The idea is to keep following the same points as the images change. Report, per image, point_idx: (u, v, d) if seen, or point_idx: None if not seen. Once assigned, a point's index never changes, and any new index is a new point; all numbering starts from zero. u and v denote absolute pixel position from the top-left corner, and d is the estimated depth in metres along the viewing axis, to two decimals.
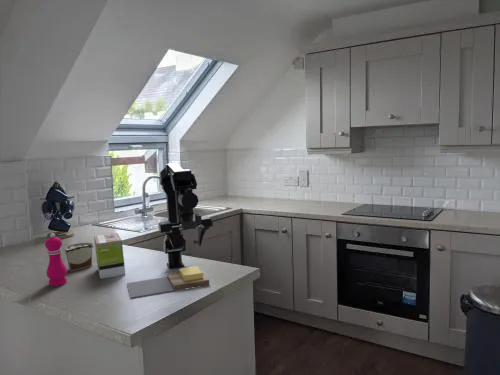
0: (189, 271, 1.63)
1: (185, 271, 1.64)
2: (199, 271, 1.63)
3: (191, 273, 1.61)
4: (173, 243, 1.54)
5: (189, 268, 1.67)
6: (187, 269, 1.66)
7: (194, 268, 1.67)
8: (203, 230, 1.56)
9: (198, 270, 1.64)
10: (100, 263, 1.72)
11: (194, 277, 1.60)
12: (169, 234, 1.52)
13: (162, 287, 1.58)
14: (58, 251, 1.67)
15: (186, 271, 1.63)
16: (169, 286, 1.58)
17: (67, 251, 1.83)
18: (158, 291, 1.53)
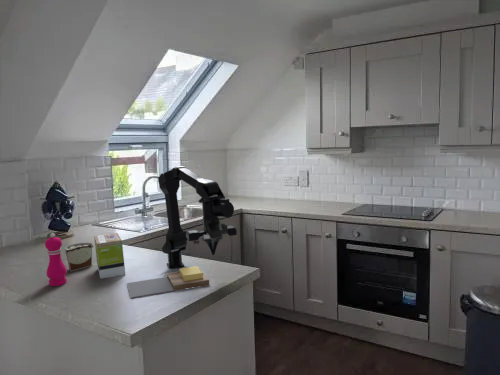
0: (189, 271, 1.63)
1: (185, 271, 1.64)
2: (199, 271, 1.63)
3: (191, 273, 1.61)
4: (211, 249, 1.65)
5: (189, 268, 1.67)
6: (187, 269, 1.66)
7: (194, 268, 1.67)
8: (217, 240, 1.64)
9: (198, 270, 1.64)
10: (100, 263, 1.72)
11: (194, 277, 1.60)
12: (208, 241, 1.63)
13: (162, 287, 1.58)
14: (58, 251, 1.67)
15: (186, 271, 1.63)
16: (169, 286, 1.58)
17: (67, 251, 1.83)
18: (158, 291, 1.53)
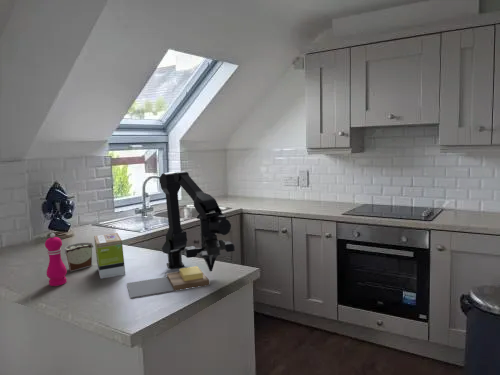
0: (189, 271, 1.63)
1: (185, 271, 1.64)
2: (199, 271, 1.63)
3: (191, 273, 1.61)
4: (209, 265, 1.65)
5: (189, 268, 1.67)
6: (187, 269, 1.66)
7: (194, 268, 1.67)
8: (214, 256, 1.64)
9: (198, 270, 1.64)
10: (100, 263, 1.72)
11: (194, 277, 1.60)
12: (206, 257, 1.63)
13: (162, 287, 1.58)
14: (58, 251, 1.67)
15: (186, 271, 1.63)
16: (169, 286, 1.58)
17: (67, 251, 1.83)
18: (158, 291, 1.53)
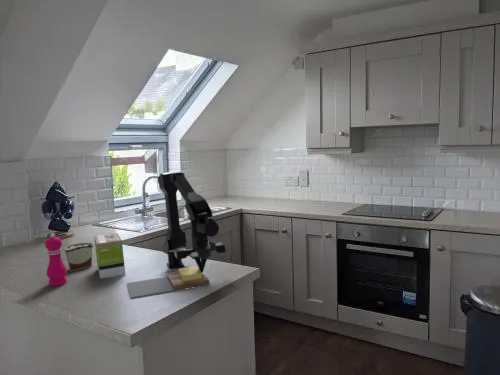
0: (188, 271, 1.63)
1: (184, 271, 1.64)
2: (198, 271, 1.62)
3: (190, 273, 1.61)
4: (200, 267, 1.64)
5: (188, 268, 1.67)
6: (186, 269, 1.66)
7: (193, 268, 1.66)
8: (205, 257, 1.63)
9: (197, 270, 1.64)
10: (100, 263, 1.72)
11: (193, 277, 1.60)
12: (197, 258, 1.62)
13: (162, 287, 1.58)
14: (58, 251, 1.67)
15: (185, 271, 1.63)
16: (169, 286, 1.58)
17: (67, 251, 1.83)
18: (158, 291, 1.53)
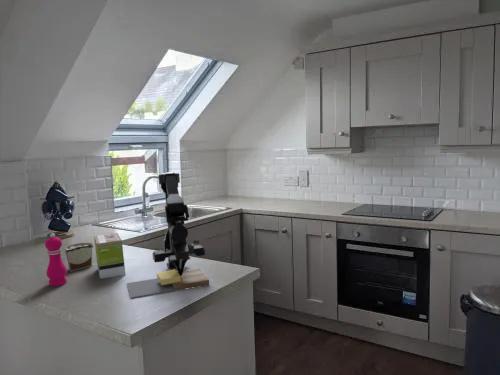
0: (166, 275, 1.60)
1: (162, 275, 1.61)
2: (177, 274, 1.60)
3: (168, 277, 1.58)
4: (179, 270, 1.61)
5: (167, 272, 1.64)
6: (165, 273, 1.63)
7: (172, 271, 1.64)
8: (184, 260, 1.60)
9: (176, 273, 1.61)
10: (100, 263, 1.72)
11: (171, 281, 1.57)
12: (175, 262, 1.59)
13: (162, 287, 1.58)
14: (58, 251, 1.67)
15: (164, 275, 1.60)
16: (169, 286, 1.58)
17: (67, 251, 1.83)
18: (158, 291, 1.53)
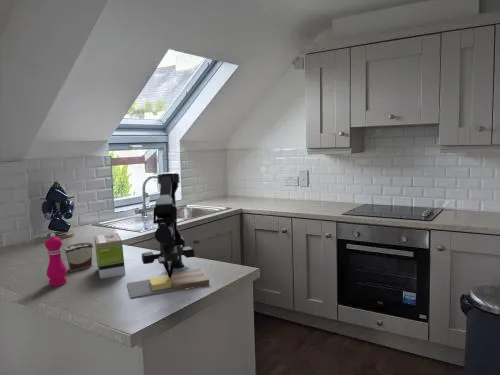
0: (158, 280, 1.60)
1: (154, 280, 1.60)
2: (168, 280, 1.59)
3: (160, 282, 1.57)
4: (168, 271, 1.60)
5: (159, 277, 1.63)
6: (156, 278, 1.62)
7: (164, 277, 1.63)
8: (173, 262, 1.59)
9: (167, 279, 1.60)
10: (100, 263, 1.72)
11: (163, 286, 1.56)
12: (164, 263, 1.58)
13: None
14: (58, 251, 1.67)
15: (155, 280, 1.59)
16: None
17: (67, 251, 1.83)
18: (158, 291, 1.53)
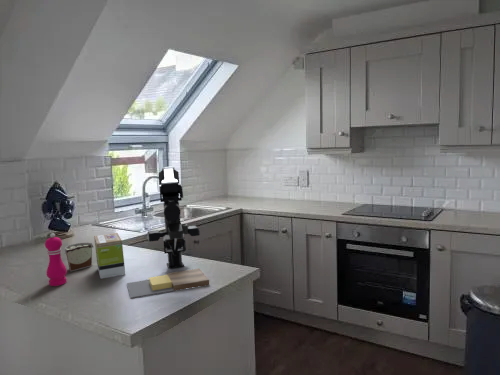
0: (158, 280, 1.60)
1: (154, 280, 1.60)
2: (168, 280, 1.59)
3: (160, 282, 1.57)
4: (173, 250, 1.62)
5: (159, 277, 1.63)
6: (156, 278, 1.62)
7: (164, 277, 1.63)
8: (178, 240, 1.61)
9: (167, 279, 1.60)
10: (100, 263, 1.72)
11: (163, 286, 1.56)
12: (169, 241, 1.60)
13: None
14: (58, 251, 1.67)
15: (155, 280, 1.59)
16: None
17: (67, 251, 1.83)
18: (158, 291, 1.53)
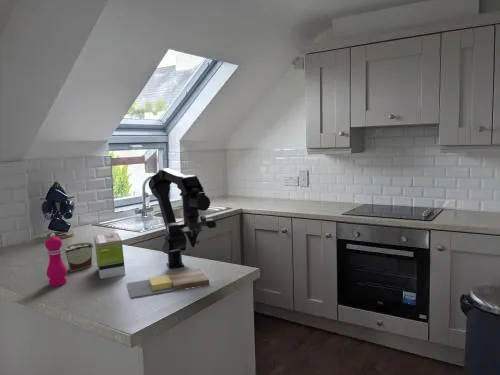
0: (158, 280, 1.60)
1: (154, 280, 1.60)
2: (168, 280, 1.59)
3: (160, 282, 1.57)
4: (191, 241, 1.70)
5: (159, 277, 1.63)
6: (156, 278, 1.62)
7: (164, 277, 1.63)
8: (196, 232, 1.69)
9: (167, 279, 1.60)
10: (100, 263, 1.72)
11: (163, 286, 1.56)
12: (188, 233, 1.67)
13: None
14: (58, 251, 1.67)
15: (155, 280, 1.59)
16: None
17: (67, 251, 1.83)
18: (158, 291, 1.53)
